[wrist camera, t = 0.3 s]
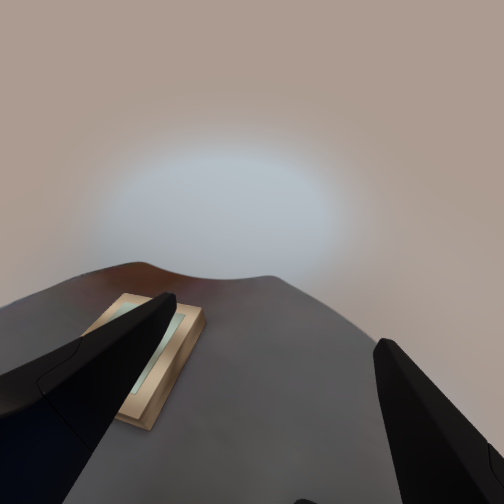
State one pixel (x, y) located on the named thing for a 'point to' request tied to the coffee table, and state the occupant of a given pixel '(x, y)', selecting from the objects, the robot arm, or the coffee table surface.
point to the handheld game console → (304, 501)
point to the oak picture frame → (156, 360)
